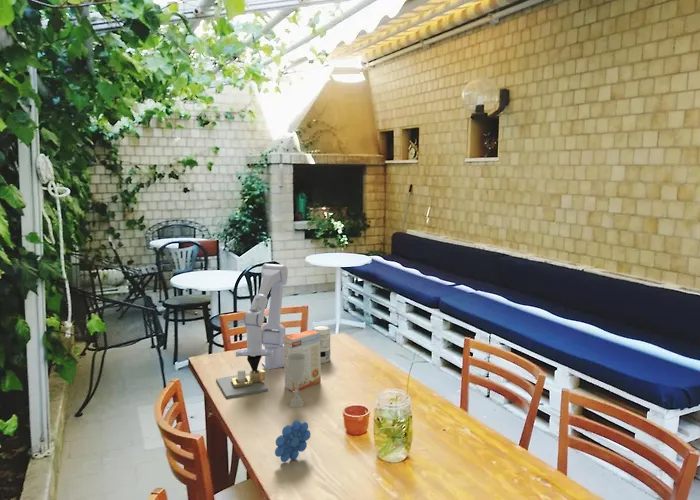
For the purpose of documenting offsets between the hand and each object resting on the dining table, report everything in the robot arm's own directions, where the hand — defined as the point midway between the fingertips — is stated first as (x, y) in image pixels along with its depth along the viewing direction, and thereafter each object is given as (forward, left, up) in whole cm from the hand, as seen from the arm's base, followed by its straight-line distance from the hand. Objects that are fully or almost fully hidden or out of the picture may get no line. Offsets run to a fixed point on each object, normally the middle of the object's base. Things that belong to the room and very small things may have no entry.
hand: (254, 373), depth 218 cm
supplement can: (-33, -10, -3) cm, 35 cm away
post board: (+6, +3, -3) cm, 7 cm away
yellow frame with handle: (+3, +3, -2) cm, 5 cm away
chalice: (-8, +27, -3) cm, 28 cm away
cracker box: (-16, +12, -3) cm, 20 cm away
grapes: (+6, +61, -3) cm, 61 cm away
